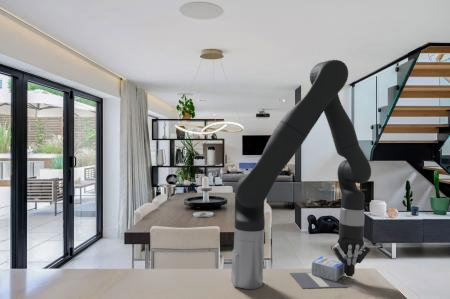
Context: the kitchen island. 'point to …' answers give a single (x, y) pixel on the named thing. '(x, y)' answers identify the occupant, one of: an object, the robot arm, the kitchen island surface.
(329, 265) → the medicine box
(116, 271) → the kitchen island surface
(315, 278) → the mat
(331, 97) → the robot arm
